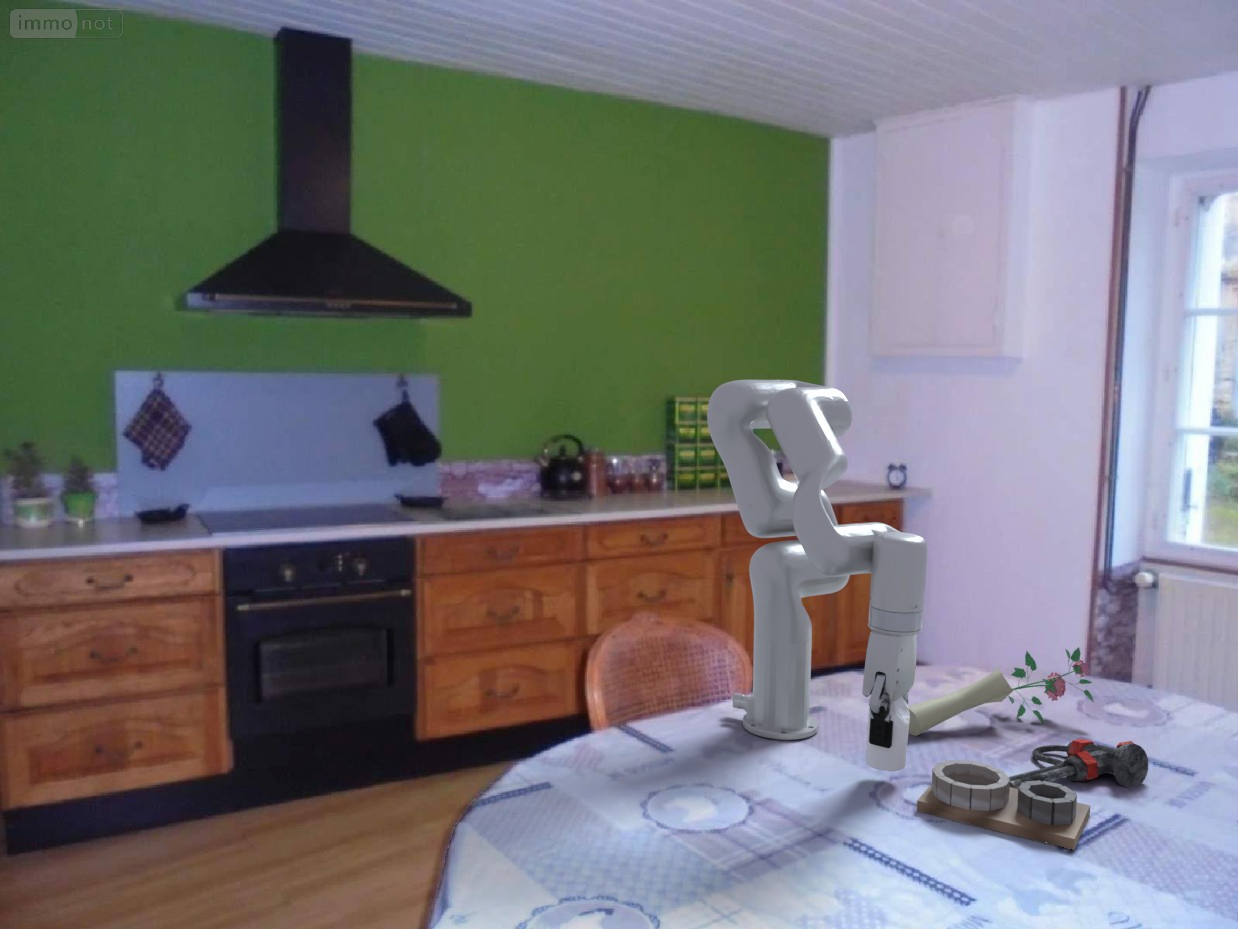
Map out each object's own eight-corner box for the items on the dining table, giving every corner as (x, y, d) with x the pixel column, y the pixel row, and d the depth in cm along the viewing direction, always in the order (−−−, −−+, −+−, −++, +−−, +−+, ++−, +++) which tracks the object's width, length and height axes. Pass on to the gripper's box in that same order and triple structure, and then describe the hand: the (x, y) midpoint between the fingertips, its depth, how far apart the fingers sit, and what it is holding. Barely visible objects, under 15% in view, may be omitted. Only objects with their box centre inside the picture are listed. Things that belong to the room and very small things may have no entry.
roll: (901, 678, 151) (919, 691, 146) (895, 755, 153) (913, 771, 147) (863, 679, 150) (880, 693, 145) (858, 757, 152) (875, 773, 146)
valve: (1088, 758, 165) (1169, 780, 151) (961, 789, 155) (1036, 816, 141) (1084, 718, 165) (1165, 737, 151) (957, 747, 155) (1031, 770, 141)
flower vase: (906, 769, 173) (1063, 702, 185) (949, 775, 162) (1113, 704, 173) (884, 702, 174) (1040, 640, 186) (925, 703, 163) (1089, 637, 175)
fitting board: (916, 811, 140) (918, 779, 139) (941, 781, 150) (943, 752, 149) (1073, 850, 129) (1075, 816, 128) (1089, 816, 139) (1091, 784, 138)
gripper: (889, 602, 156) (882, 715, 158) (848, 627, 141) (841, 751, 144) (938, 610, 152) (930, 726, 154) (902, 637, 137) (893, 765, 140)
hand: (887, 737), depth 149 cm, fingers closed on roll, 5 cm apart
